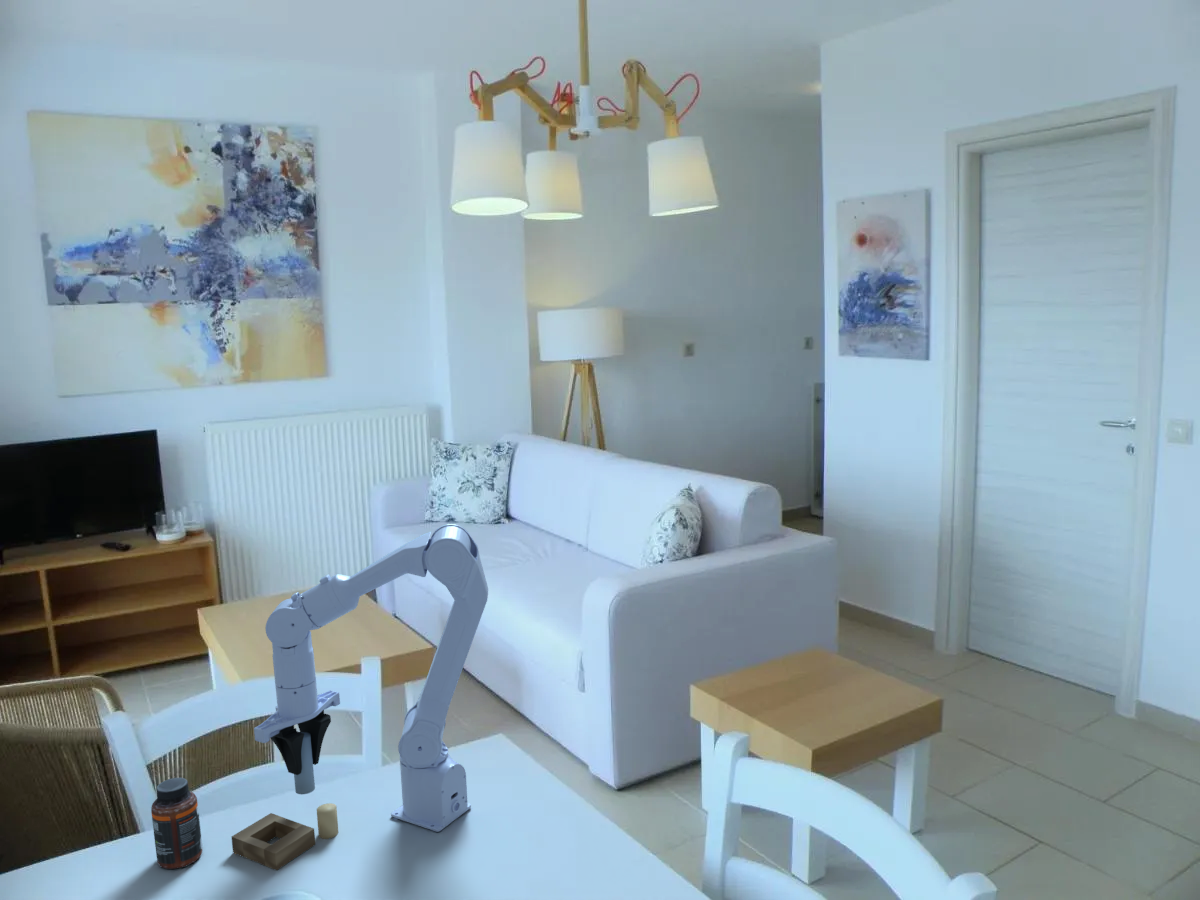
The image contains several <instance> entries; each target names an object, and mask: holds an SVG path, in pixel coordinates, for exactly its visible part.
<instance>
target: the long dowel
mask: <svg viewBox="0 0 1200 900" xmlns="http://www.w3.org/2000/svg"><path fill="white" fill-rule="evenodd" d="M301 733H304V738H303V742H302V748H301V760H302V771H301V773H300V774H299V775H295V774H293V780H294V789H295V794H297V795H308V794H310V793H312V792H314V791H315V790H316V786H315V773H314V764H313V759H312V747H311V736H310V733H308V732H301Z"/></svg>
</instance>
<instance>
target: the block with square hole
mask: <svg viewBox="0 0 1200 900" xmlns="http://www.w3.org/2000/svg"><path fill="white" fill-rule="evenodd" d="M315 835H316V834H315V828H313V827H311V826H308V825H305V824H302V823H300V822H297V821H294V820H291V819H288V818H286V817H283V816H280V815H278V814H274V813H273V812H270V813H269V814H266V816H264V817H262V818H260V819H259V820H257V821H255V822H254V823H252V824H250V825H248V826H247V827H245V828H243V829H241V830H240V831H238V832H237V833H235V834H233V835H232V836H231V846H232V853H233V852H234V853H233V854H235V853H236V854H235V855H237V854H238V856H240V855H241V857H242V856H243V858H244V859H245V858H246V859H247V860H250V861H252V862H255V863H257V864H260V865H262V866H264V867H268V868H269V869H272V870H274V869H275V871H278V870H280V869H281V868H283V867H284V866H286V865H287V864H288V863H290V862H292V861H293V860H294V858H295V859H296V858H297V857H299V856H301V855H302V854H304V853H306V852H307V851H308V850H310V849H311V848H313V847H314V846H315V845H316V836H315ZM274 837H275V838H277V837H278V838H277V840H275V842H273V843H269V842H270V841H272V840H273V838H274ZM275 838H274V839H275ZM280 838H281V839H280ZM271 839H272V840H271ZM268 841H269V842H268ZM306 850H307V851H306ZM303 852H304V853H303ZM291 860H292V861H291Z"/></svg>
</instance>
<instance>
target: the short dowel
mask: <svg viewBox="0 0 1200 900" xmlns="http://www.w3.org/2000/svg"><path fill="white" fill-rule="evenodd" d="M337 807H338V806H337V805H336V804H335V803H330V802H329V803H324V804H321V805H319V806H318V807H317V808H316V817H317V818H316V819H317V821H316V822H317V831H318V837H319V839H322V840H329V838H330V839H333V838H335V837H337V836H338V835H339V823H338V822H339V821H338V809H337Z"/></svg>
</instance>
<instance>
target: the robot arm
mask: <svg viewBox="0 0 1200 900" xmlns="http://www.w3.org/2000/svg"><path fill="white" fill-rule="evenodd" d="M428 572H429V574H430V575H431V576H432V577H434V578H435V579H436V580H437V581H438V582H439V583H441V584H442V586H443V585H444V586H445V588H447V591H448V592H449V593H450V595H451V597H452V598H453V603H452V606H451V609H450V611H449V614H448V617H447V620H446V623H445V626H444V628H443V632H442V633H441V634H442V635H441V636H440V640H439V642H438V645H437V647H436V651H435V653H434V655H433V659H432V662H431V665H430V668H429V671H428V673H427V677H426V678H425V681H424V684H423V687H422V690H421V691H420V693H419V695H418V698H417V700H416V702H415V704H414V705H413V706H412V707H411V708H409V709H408V711H407V712H406V714H405V717H404V724H403V728H402V734H401V737H400V739H399V741H398V746H397V748H398V749H397V750H398V754H399V769H400V770H399V771H400V784H401V795H402V796H401V798H402V799H401V800H402V805H400V806H399V807H397V808H396V809H394V810H393V811H391V813H390V816H391V818H395V819H397V820H400V821H403V822H407V823H410V824H413V825H415V826H419V827H422V828H425V829H427V830H430V831H434V832H436V833H437V832H441V831H443V830H444V828H446V827H447V826H448V825H450V824H451V823H453V822H454V821H455V820H457V819H458V818H460V816H462V815H463V814H464V813H466V812H467V811H468V810H470V809H471V808H472V804H471V803H470V802H468V791H467V790H468V789H467V787H468V786H467V772H466V770H465V767H464V766H463V765H462V764H461V763H459V762H457V761H455V760H454V759H453V758H452V757H451V756H450V754H449V748H448V747H447V745H446V743H445V741H444V740H443V738H444V731H445V728H446V722H447V720H446V719H447V716H448V711H449V708H450V705H451V702H452V699H453V697H454V695H455V694H454V693H455V691H456V688H457V685H458V681H459V680H460V676H461V674H462V671H463V668H464V665H465V663H466V661H467V658H468V655H469V652H470V649H471V646H472V643H473V640H474V637H475V635H476V633H477V630H478V628H479V624H480V622H481V619H482V615H483V613H484V611H485V608H486V604H487V602H488V599H489V587H488V583H487V579H486V575H485V572H484V568H483V564H482V560H481V556H480V551H479V547H478V544H477V542H475V540H474V539H473V537H472V535H471V534H470V533H469V531H467V530H466V528H464V527H463V526H461V525H460V524H455V523H448V524H444V525H441V526H439V527H438V528H437V529H435V530H434V531H433V533H432V531H428V532H425V533H423V534H421V535H419V536H417V537H415V538H414V539H412V540H410V541H407V542H406V543H405V544H403V545H401V546H400V547H398V548H396V549H394V550H392V551H391V552H390V553H388V554H385V556H383V557H381V558H379V559H378V560H376V561H374V562H372V563H371V564H369V565H368V566H366V567H364V568H363V569H361V570H359V571H357V572H356V573H354V574H352V575H346V574H341V573H336V574H334V575H333V576H331V575H330V574H329V573H328V574H326V575H324V576H322V577H320V579H319V583H318V584H316V585H314V586H312V587H311V588H309V589H306V590H305V591H303V592H302V593H300V592H298V591H297V592H294V593H293V594H292V595H291V596H290V598H287V599H284V600H282V601H281V602H280V603H279V604H278V605H276V607H275V608H274V610H273V611H272V613H270V615H269V617H267V620H266V623H265V633H266V637H267V639H268V640H269V641H270V642H271V647H272V663H273V664H272V665H273V674H274V675H273V676H274V687H275V694H276V704H277V705H276V706H275V712H273V714H271V715H270V716H269V717H267V719H266V720H264V721H263V722H261V724H259V725H257V726H255V727H253V735H254V741H256V742H258V743H259V742H260V743H261V744H262V743H263V744H266V743H268V742H269V741H271V740H272V742H273V743H274V744H275V746H276V748H277V750H278V751H279V752H280V754H281V757H282V759H283V761H284V764H285V767H286V769H287V773H290V774H292V775H294V774H295V775H299V774H300V773H301V771H302V760H301V748H302V742H303V738H304V733H301V732H308V733H310V736H311V747H312V759H313V766H315V765H318V764H319V761H320V755H321V751H322V746H323V742H324V738H325V735H326V732H327V730H328V729H329V725H330V724H331V723H332V719H331V718H332V717H331V715H330V714H328V713H325V710H327V709H329V708H331V707H338V706H339V705H341V698H340V692H338V691H335V690H328V691H325V692H323V693H320V694H318V688H317V677H316V664H315V654H314V653H315V652H314V648H313V639H312V631H315V630H319V629H320V628H323V627H324V626H326V625H328V624H330V623H331V622H334V621H335V620H337V619H339V618H341V617H342V616H345V615H346V614H348V613H351V612H352V611H354V610H356V609H357V608H358V606H359V601H360V597H362V596H364V595H365V594H367V593H370V592H371V591H373V590H375V589H378V588H380V587H382V586H383V585H387V584H389V583H390V582H392V581H394V580H396V579H398V578H400V577H402V576H405V575H406V574H407V575H408V574H410V575H413V576H418V577H421V578H426V576H427V573H428ZM295 725H297V726H298V730H299V731H297V728H295Z"/></svg>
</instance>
